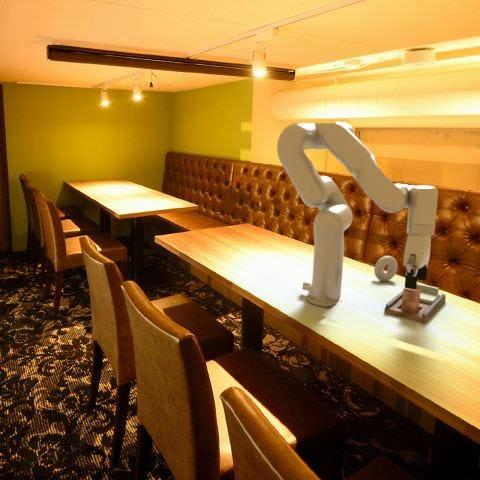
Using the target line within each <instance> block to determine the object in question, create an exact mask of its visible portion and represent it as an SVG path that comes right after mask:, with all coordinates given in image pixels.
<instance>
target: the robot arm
mask: <svg viewBox="0 0 480 480" xmlns="http://www.w3.org/2000/svg"><path fill="white" fill-rule="evenodd" d="M276 145H277V146H276V151H277V156H278V159H279V162H280V164H281V166H282V167H283V169H284V170H285V172H286V174H287V175H288V178H289V179H290V182H291V183H292V184H293V186H294V188H295V189H296V192H297V193H298V195H299V198H300V199H301V200H302V202H303V203H304V205H306V206H307V207H309V208H317V209H318V210H319V212H318V213H317V215H315V218H314V220H313V241H314V244H313V245H314V247H313V263H312V265H313V266H312V280H311V283H309V282H306V281H305V282H303V283H302V287H301V288H302V290H304V291H307V292H308V293H307V294H306V300H307V302H308V303H310V304H312V305H315V306H318V307H321V308H322V307H324V308H334V307H335V306H337V305H338V304H339V303H342V302H343V301H345V299H346V298H345V296H344V295H342V293H341V292H342V282H343V281H342V280H343V270H344V269H343V268H344V257H345V256H344V252H345V238H344V237H345V236H344V235H345V231H346V230H347V229H349V227H350V226H351V224H352V223H353V218H354V217H353V212H352V209H351V207H350V205H349V204H348V202H347V201H346V198H345V197H344V195H343V194H342V192H341V191H340V188H339V186H338V185H337V184H336V183H335V181H334V180H333V179H332V178H331V177H329V176H327V175H320V173H319V172H318V171H317V169H316V168H315V166H314V163H313V162H312V161H311V159H310V158H309V157H308V156H307V155H306V152H305V150H327V151H328V152H329V153H330V154H331V155H333V157H334V158H336V160H337V161H338V162H339V163H340V164H341V165H342V166H343V167H344V169H346V170H347V171H348V172H349V173H350V174H351V176H352V178H353V179H354V180H355V182H356V183H357V184H358V185H359V187H360V188H361V190H362V191H363V192H364V194H366V195H367V197H368V198H369V199H371V200H372V202H373V203H374V204H375V205H376V206H378V207H379V208H380V209H381V210H382V211H384V212H385V213H390V214H394V213H397V212H400V211H401V210H403V209H405V208H407V222H406V234H407V236H406V241H405V249H404V254H403V255H404V257H403V266H404V268H406V269H405V274H404V275H405V279H404V287H405V288H408V289H413V290H415V289H416V287H417V283H418V280H419V281H427V280H428V268H429V261H430V256H431V247H432V245H431V244H432V236H434V235H435V229H436V221H437V220H436V219H437V218H436V215H437V208H438V198H439V190H438V189H437V187H435V186H432V185H408V184H404V183H394V182H393V181H391V179H389V178H388V176H387V175H386V174H385V173H384V172H383V171H382V169H381V168H380V167H379V165H378V162H377V160H376V157H375V154H374V153H373V152H372V151H371V150H370V149H369V148H368V147H367V146H366V145H365V144H364V143H363V142H362V141H361V140H360V139H359V138H358V137H357V136H356V134H355V130H354V128H353V127H352V126H351V125H350V124H349V123H347V122H343V121H332V122H323V123H322V122H320V123H319V122H317V123H316V122H313V123H312V122H294V123H290V124H289V125H286V127H285V128H284V129H283V130H282V131H281V132H280V135H279V137H278V139H277V144H276Z"/></svg>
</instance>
